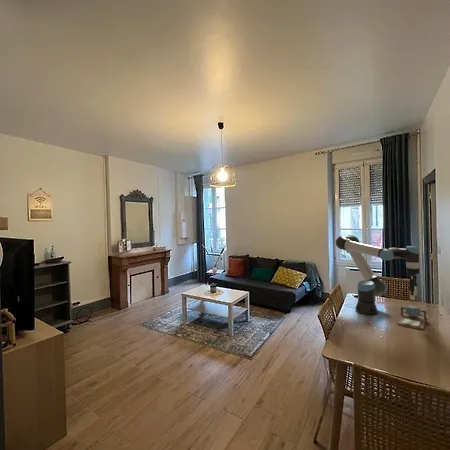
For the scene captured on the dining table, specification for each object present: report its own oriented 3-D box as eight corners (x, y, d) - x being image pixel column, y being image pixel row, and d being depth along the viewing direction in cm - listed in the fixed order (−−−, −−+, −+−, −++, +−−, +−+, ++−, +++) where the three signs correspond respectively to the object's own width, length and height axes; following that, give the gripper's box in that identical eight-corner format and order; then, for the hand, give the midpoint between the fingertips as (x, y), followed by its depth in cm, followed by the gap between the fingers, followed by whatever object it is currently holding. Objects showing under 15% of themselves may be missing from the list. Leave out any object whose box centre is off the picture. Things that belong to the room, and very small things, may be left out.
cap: (403, 314, 181) (403, 306, 181) (404, 311, 187) (404, 303, 187) (422, 317, 174) (422, 310, 174) (423, 314, 180) (423, 306, 180)
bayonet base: (397, 324, 171) (397, 314, 171) (402, 313, 191) (402, 303, 191) (424, 330, 162) (423, 319, 162) (426, 317, 181) (426, 308, 181)
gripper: (417, 271, 168) (418, 302, 168) (420, 265, 187) (421, 293, 187) (404, 270, 173) (404, 300, 173) (408, 264, 192) (409, 292, 192)
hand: (413, 297), depth 180 cm, fingers open, 13 cm apart
